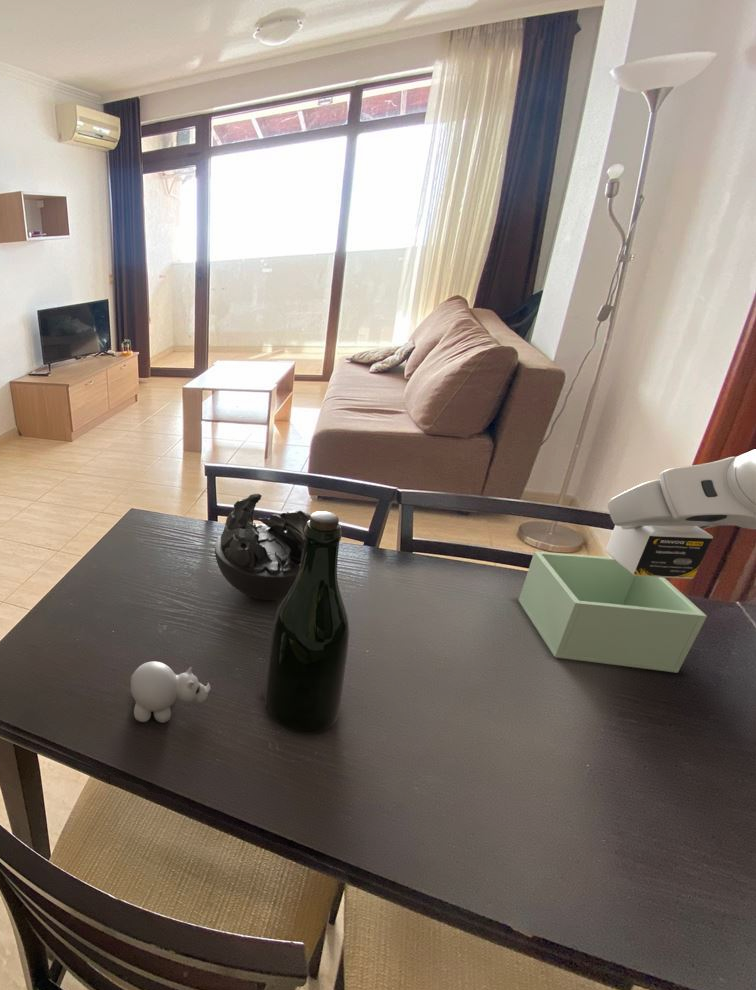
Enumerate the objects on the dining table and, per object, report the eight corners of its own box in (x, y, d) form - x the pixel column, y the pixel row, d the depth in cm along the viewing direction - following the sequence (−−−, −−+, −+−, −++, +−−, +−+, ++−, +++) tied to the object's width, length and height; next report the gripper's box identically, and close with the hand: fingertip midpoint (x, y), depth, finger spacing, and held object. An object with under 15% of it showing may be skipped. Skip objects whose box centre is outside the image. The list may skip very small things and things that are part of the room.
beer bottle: (350, 706, 81) (385, 512, 67) (317, 749, 75) (348, 545, 61) (285, 673, 88) (305, 491, 74) (251, 709, 82) (265, 518, 68)
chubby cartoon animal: (211, 731, 79) (213, 688, 75) (130, 727, 81) (127, 684, 77) (208, 694, 85) (209, 653, 82) (133, 691, 87) (130, 650, 83)
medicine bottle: (633, 576, 78) (664, 502, 73) (603, 551, 84) (630, 481, 79) (694, 580, 76) (730, 504, 71) (659, 554, 82) (690, 482, 77)
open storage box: (622, 611, 95) (644, 559, 91) (678, 673, 82) (707, 616, 78) (518, 600, 100) (534, 551, 96) (554, 657, 87) (575, 603, 82)
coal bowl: (320, 628, 97) (332, 538, 89) (208, 614, 103) (210, 528, 95) (314, 569, 114) (324, 489, 106) (218, 560, 120) (220, 483, 112)
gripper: (848, 464, 64) (735, 502, 77) (652, 468, 67) (576, 504, 80) (871, 514, 62) (752, 544, 75) (668, 516, 65) (587, 545, 78)
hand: (659, 524), depth 78 cm, fingers closed on medicine bottle, 7 cm apart
